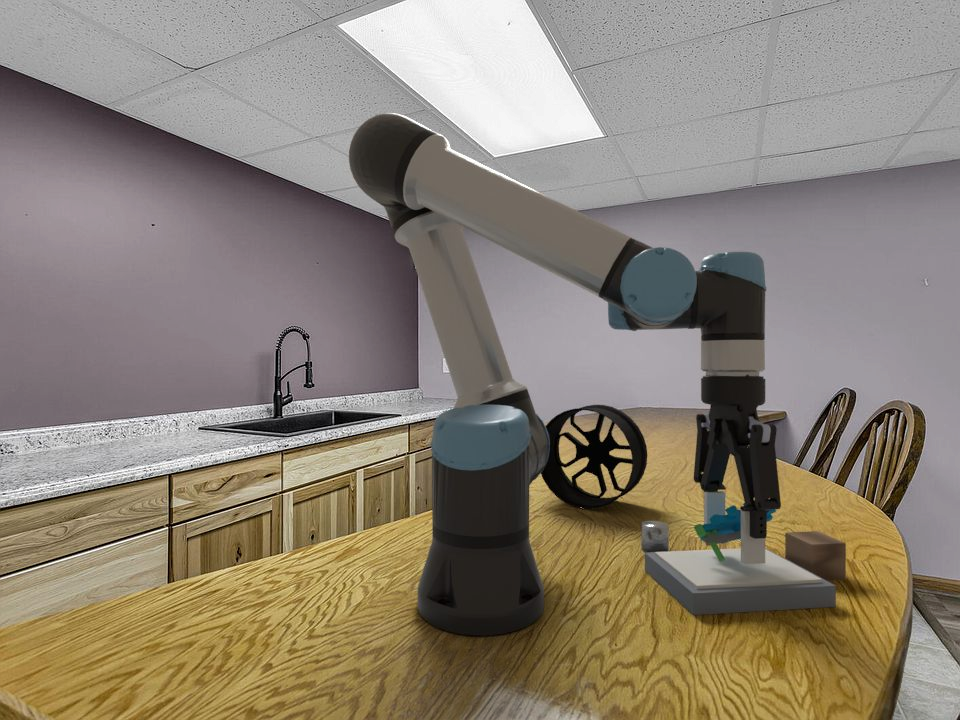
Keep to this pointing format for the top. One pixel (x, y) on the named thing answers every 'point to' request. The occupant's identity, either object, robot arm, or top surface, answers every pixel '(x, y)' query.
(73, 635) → the top surface
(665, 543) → the steel cylinder
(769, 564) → the stand
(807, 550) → the walnut block
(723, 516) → the gear
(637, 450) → the car wheel rim
